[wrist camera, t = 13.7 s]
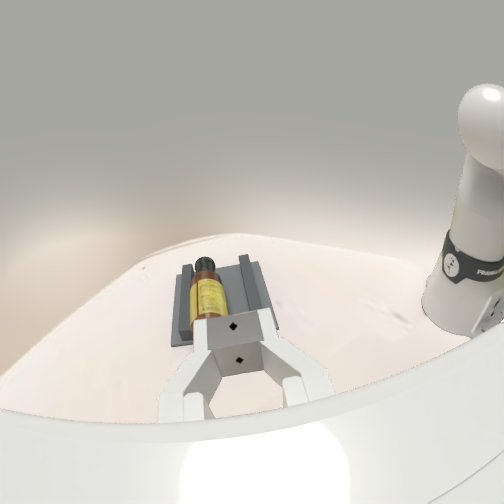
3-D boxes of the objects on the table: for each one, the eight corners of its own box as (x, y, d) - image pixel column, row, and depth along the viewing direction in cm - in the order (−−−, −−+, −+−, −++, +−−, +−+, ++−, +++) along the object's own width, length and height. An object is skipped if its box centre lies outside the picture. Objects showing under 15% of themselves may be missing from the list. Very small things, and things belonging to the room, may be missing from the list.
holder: (258, 263, 63) (256, 251, 61) (278, 329, 46) (277, 316, 45) (177, 276, 62) (173, 265, 60) (171, 346, 45) (166, 335, 43)
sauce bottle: (239, 338, 43) (229, 265, 59) (214, 315, 39) (211, 244, 56) (205, 354, 44) (203, 281, 61) (179, 334, 41) (185, 261, 57)
